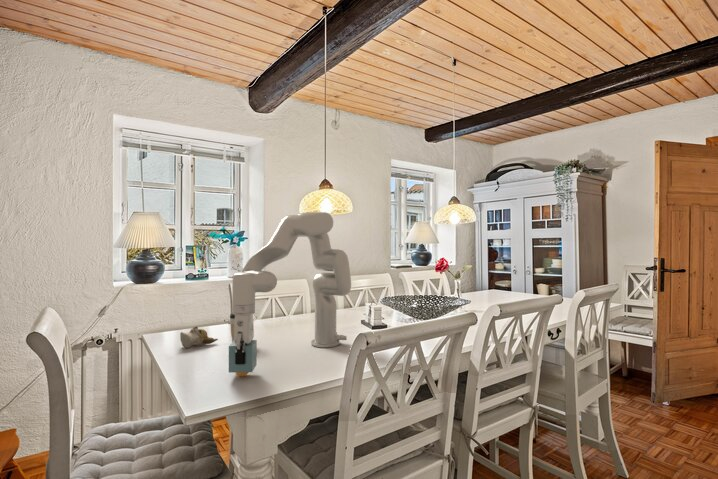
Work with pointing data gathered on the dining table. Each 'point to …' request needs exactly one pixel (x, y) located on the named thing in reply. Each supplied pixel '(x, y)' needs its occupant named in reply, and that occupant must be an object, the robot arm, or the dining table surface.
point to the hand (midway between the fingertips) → (243, 359)
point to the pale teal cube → (249, 357)
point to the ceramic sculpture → (195, 338)
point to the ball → (241, 373)
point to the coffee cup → (232, 325)
